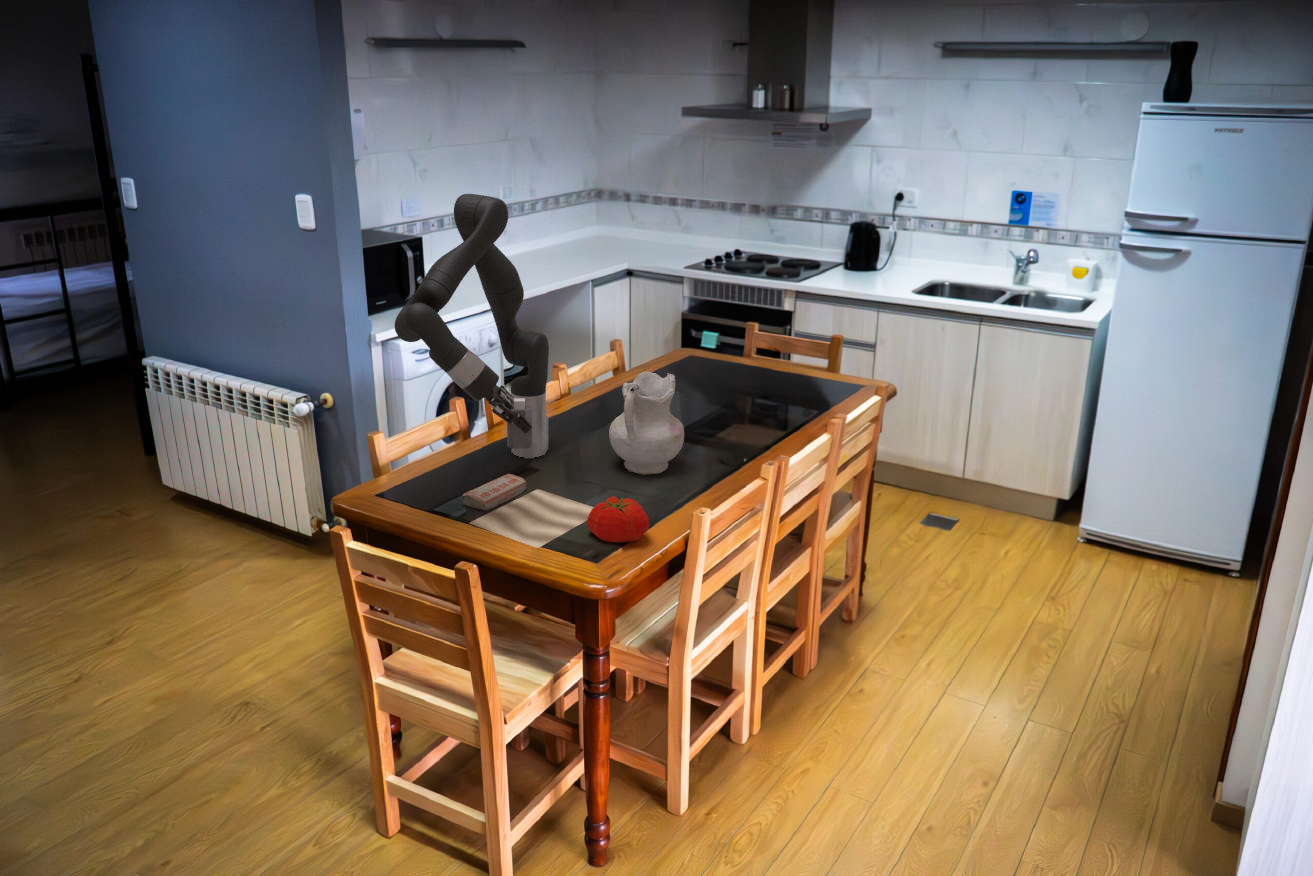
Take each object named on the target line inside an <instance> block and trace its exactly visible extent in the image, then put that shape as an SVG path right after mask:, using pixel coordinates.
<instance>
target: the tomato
mask: <svg viewBox="0 0 1313 876" xmlns="http://www.w3.org/2000/svg"><path fill="white" fill-rule="evenodd" d="M586 525H587V529H588V530H589V531H590V532H591V533H592V534H593V535H595V536H596V537H597V538H598V539H600V540H601V541H604V542H607V543H617V544H618V543H620V544H623V543H629V542H635V541H636V540H638V539H641V538H642V537H643V536H644V535H645V533H646V532H647V531H648V529H649V527H650V519H649V517H648V515H647V513H646V511H644V508H643V506H642V505H641V504H639V502H637V501H636V500H634V499H633V498H624V497H621V498H620V499H619V498H618V497H616V496H611V497H608V498H607V499H605V500H603V501H602V502H599V503H597V504H596V505H595V506H594V508H593V509H592V510H591V512H590V513H589V516H588V520H587V521H586Z"/></svg>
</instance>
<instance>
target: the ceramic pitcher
mask: <svg viewBox="0 0 1313 876" xmlns="http://www.w3.org/2000/svg"><path fill="white" fill-rule="evenodd" d="M676 380H677V379H676V375H675V374H672V373H669V372H667V373H666V376H665V377H661V375H659V374H657V373H655V372H652V371H646V370H645V371H643V372H640V373H639V374H637V376H636V377H635V378H634V379H633V381H632V382H624V383H622V388H621V390H622V396H623V401H624V403H623V412H622V413H621V414H619V416H617V417H615V418H614V420H612V422H611V423H610V426H609V430H608V431H609V432H608V435H609V436H608V437H609V441H610V445H611V446H612V449H613V451H614V452H615V453H616V454H617V456H619V457H620V458H621V459H622V460H624V461H623V466H624V468H625V469H627V471H628V472H630V473H635V474H639V475H643V476H644V475H653V474H662V473H663V472H665V471H666V470H667V469H668V468H669V466H670V465H669V464H670V463H669V462H670V461H672V460H673V459H674V458H675V457H676V456H677V455H678V454H679V452H680V451H681V449H682V448H683V444H684V441H685V440H684V439H685V430H684V429H685V428H684V425H683V422H681V421H680V420H679V418H677V417H676V416H674V415H673V414H672V413H671V411H670V407H671V403H672V399H673V397H674V394H675V390H676Z"/></svg>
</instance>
